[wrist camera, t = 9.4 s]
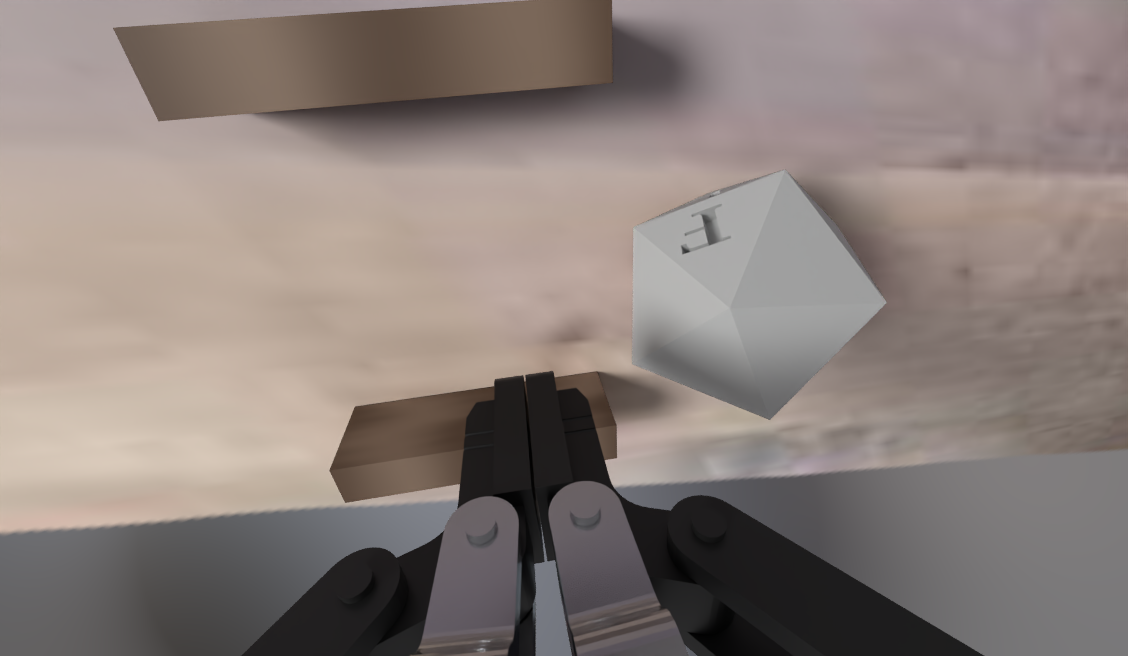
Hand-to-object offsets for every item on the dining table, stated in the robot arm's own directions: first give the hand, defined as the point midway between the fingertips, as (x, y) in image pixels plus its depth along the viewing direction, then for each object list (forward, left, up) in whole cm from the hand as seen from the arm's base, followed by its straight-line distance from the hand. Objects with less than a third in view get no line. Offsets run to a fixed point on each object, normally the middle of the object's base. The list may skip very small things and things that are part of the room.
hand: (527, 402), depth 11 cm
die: (-8, 0, -9) cm, 12 cm away
